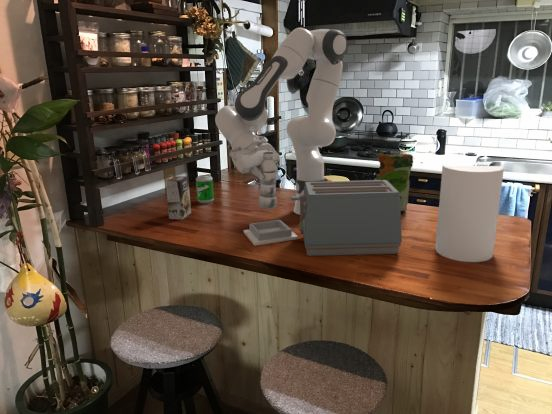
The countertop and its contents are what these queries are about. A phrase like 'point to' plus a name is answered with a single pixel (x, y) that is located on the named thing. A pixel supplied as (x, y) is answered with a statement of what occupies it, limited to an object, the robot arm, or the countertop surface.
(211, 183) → the soda can
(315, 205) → the toaster
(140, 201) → the countertop surface
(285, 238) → the bottle holder
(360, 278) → the countertop surface
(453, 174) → the cylinder
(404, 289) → the countertop surface
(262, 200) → the plastic bottle
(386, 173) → the pouch
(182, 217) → the coffee box
